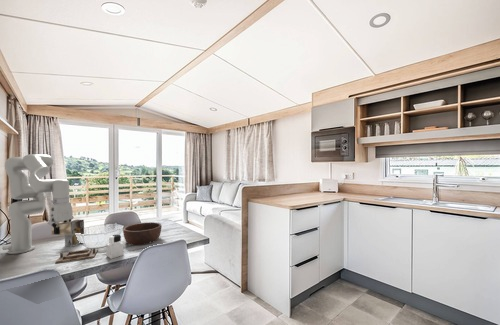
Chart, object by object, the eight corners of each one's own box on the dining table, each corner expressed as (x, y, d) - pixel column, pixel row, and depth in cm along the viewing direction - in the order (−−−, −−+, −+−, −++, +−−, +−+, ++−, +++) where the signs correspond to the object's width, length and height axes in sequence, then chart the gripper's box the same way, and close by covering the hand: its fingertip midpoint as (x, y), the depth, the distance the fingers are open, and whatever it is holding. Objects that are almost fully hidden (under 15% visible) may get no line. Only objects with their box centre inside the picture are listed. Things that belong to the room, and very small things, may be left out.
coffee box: (76, 241, 167) (76, 219, 167) (84, 242, 165) (84, 219, 165) (64, 246, 158) (64, 222, 158) (72, 246, 156) (72, 222, 156)
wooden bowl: (169, 237, 173) (169, 224, 173) (140, 249, 151) (140, 233, 151) (144, 234, 184) (144, 220, 184) (114, 244, 161) (114, 229, 161)
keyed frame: (55, 263, 130) (55, 257, 130) (62, 255, 141) (62, 249, 141) (93, 257, 137) (93, 251, 137) (97, 250, 149) (97, 244, 149)
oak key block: (63, 235, 132) (63, 224, 132) (51, 234, 133) (51, 223, 133) (70, 232, 136) (70, 222, 136) (59, 232, 138) (59, 222, 138)
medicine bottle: (119, 252, 145) (118, 233, 145) (123, 255, 141) (123, 235, 141) (106, 255, 140) (106, 235, 140) (111, 258, 135) (110, 238, 135)
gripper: (51, 203, 126) (51, 237, 126) (79, 199, 143) (80, 229, 142) (40, 203, 127) (40, 237, 127) (69, 198, 144) (69, 228, 144)
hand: (61, 232), depth 135 cm, fingers closed on oak key block, 4 cm apart
